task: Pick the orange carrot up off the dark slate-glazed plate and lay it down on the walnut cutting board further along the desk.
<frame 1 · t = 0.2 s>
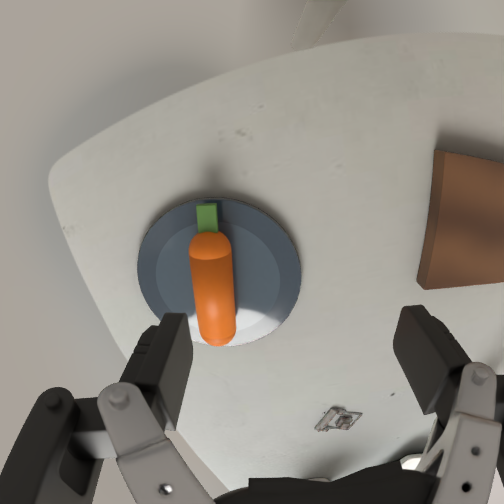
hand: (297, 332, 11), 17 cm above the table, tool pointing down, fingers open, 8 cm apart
slate plate: (217, 278, 29), on the table
cutting board: (497, 222, 26), on the table
carrot: (216, 282, 28), point 1 cm above the table, touching slate plate
metal mounting bracket: (313, 425, 39), on the table
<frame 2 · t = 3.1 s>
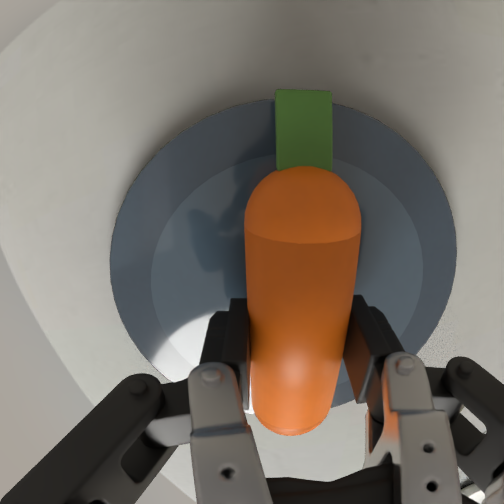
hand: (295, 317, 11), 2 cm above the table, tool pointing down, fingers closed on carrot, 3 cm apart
slate plate: (291, 292, 13), on the table
square plate: (452, 501, 34), on the table
carrot: (293, 302, 12), point 1 cm above the table, touching gripper, slate plate
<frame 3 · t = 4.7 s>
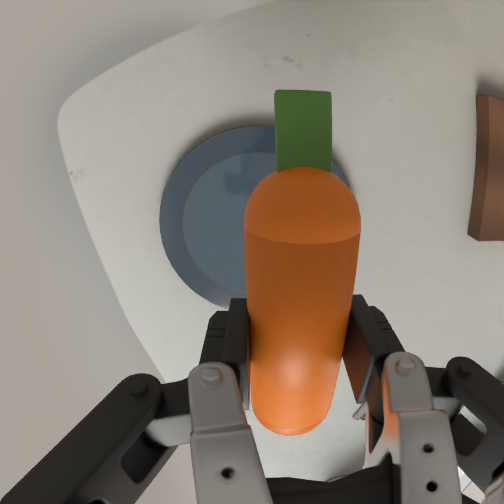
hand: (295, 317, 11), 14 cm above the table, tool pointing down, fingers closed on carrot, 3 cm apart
slate plate: (257, 225, 25), on the table
square plate: (433, 466, 45), on the table
carrot: (292, 302, 12), point 13 cm above the table, touching gripper
metal mounting bracket: (351, 413, 34), on the table
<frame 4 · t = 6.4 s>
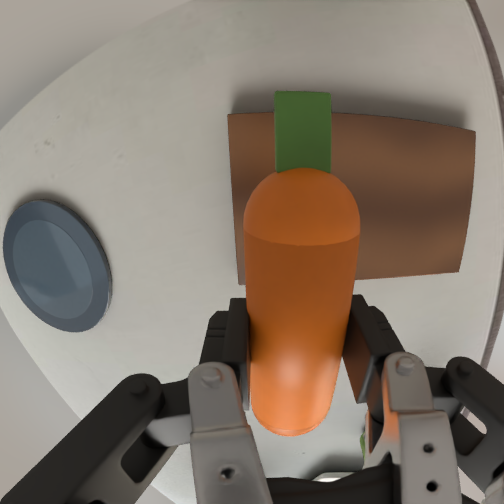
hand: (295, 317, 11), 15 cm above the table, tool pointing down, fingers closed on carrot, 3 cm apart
slate plate: (52, 269, 28), on the table
cutting board: (362, 196, 25), on the table
carrot: (292, 303, 12), point 14 cm above the table, touching gripper
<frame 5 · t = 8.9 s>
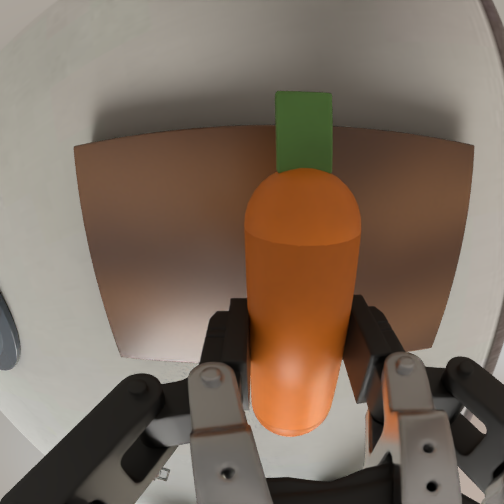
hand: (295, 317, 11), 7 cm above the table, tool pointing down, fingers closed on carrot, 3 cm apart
cutting board: (282, 249, 17), on the table
carrot: (293, 304, 12), point 5 cm above the table, touching gripper
metal mounting bracket: (127, 465, 31), on the table
when the fingers open (3 cm above the table, at t = 10.2 s): carrot stays where it is, resting on cutting board.
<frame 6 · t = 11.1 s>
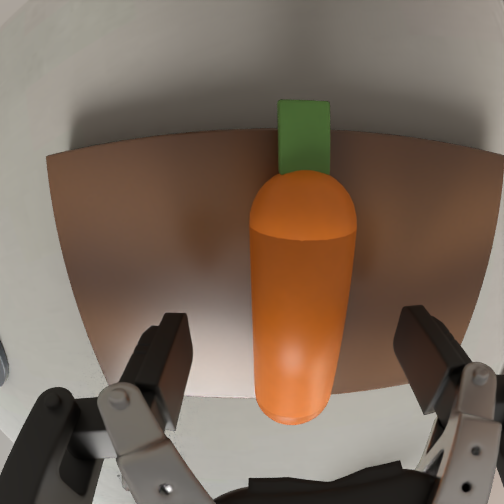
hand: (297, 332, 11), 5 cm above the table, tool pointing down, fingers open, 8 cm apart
cutting board: (287, 274, 15), on the table
carrot: (292, 297, 13), point 2 cm above the table, touching cutting board
metal mounting bracket: (123, 482, 28), on the table
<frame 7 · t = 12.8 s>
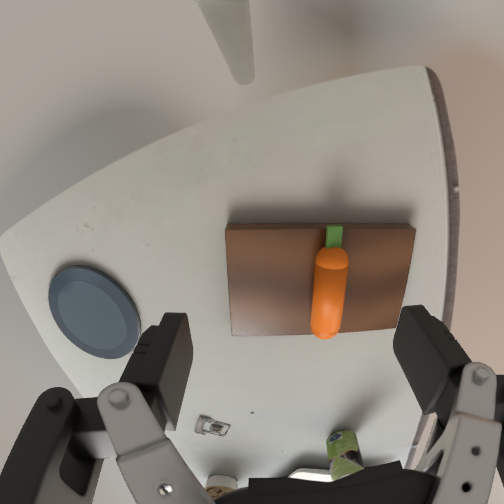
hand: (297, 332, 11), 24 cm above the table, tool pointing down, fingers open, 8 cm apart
slate plate: (92, 314, 39), on the table
beverage can: (339, 433, 49), on the table
coffee cup: (222, 479, 58), on the table
square plate: (316, 484, 59), on the table
cutting board: (320, 278, 36), on the table
carrot: (324, 287, 34), point 2 cm above the table, tilted 7°, touching cutting board
metal mounting bracket: (194, 427, 49), on the table
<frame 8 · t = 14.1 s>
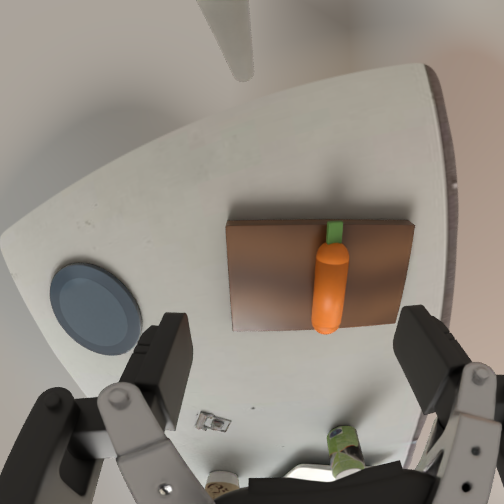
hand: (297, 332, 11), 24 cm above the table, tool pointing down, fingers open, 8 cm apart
slate plate: (93, 311, 40), on the table
beverage can: (340, 428, 50), on the table
coffee cup: (223, 475, 59), on the table
square plate: (317, 479, 60), on the table
cutting board: (320, 274, 36), on the table
carrot: (323, 282, 35), point 2 cm above the table, tilted 10°, touching cutting board
metal mounting bracket: (195, 423, 50), on the table
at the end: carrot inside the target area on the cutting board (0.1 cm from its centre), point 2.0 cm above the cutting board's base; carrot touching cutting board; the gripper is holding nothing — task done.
